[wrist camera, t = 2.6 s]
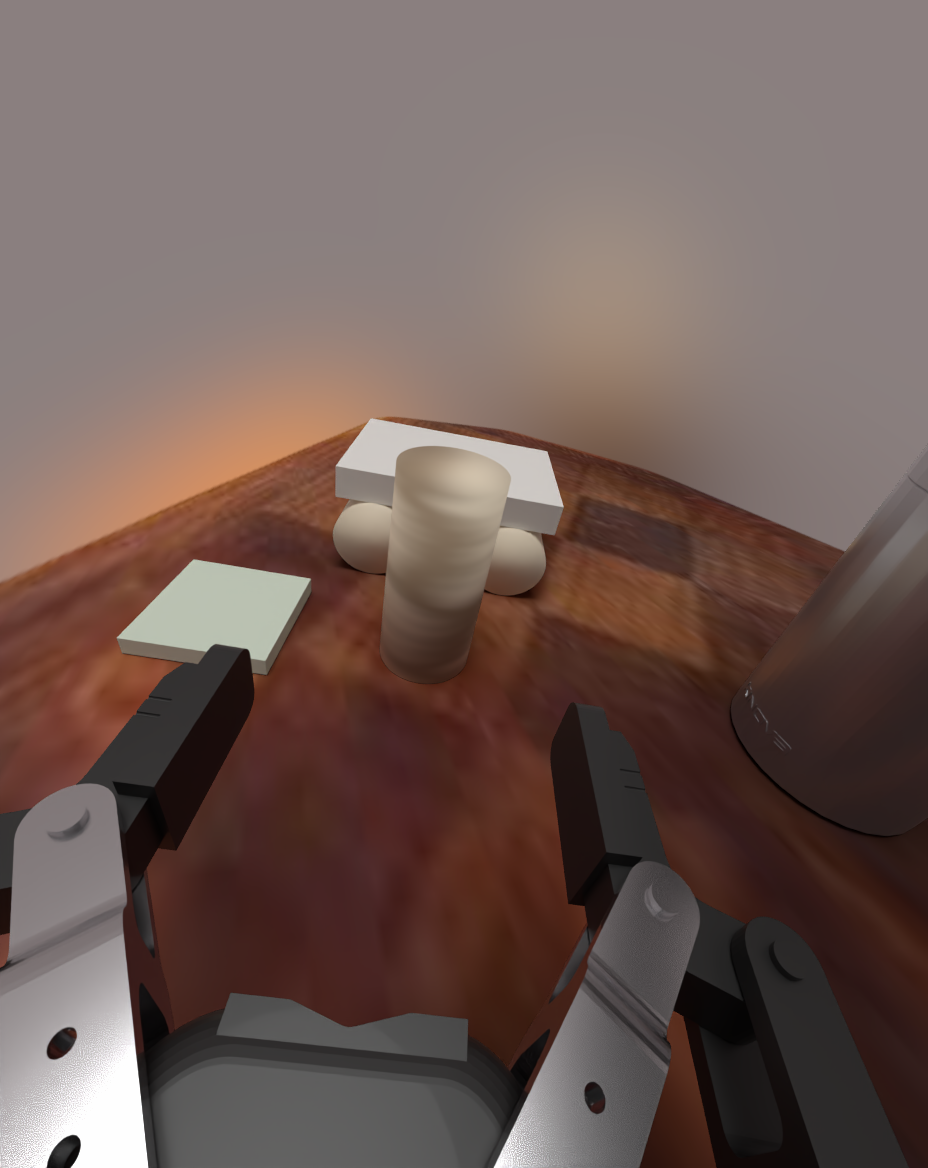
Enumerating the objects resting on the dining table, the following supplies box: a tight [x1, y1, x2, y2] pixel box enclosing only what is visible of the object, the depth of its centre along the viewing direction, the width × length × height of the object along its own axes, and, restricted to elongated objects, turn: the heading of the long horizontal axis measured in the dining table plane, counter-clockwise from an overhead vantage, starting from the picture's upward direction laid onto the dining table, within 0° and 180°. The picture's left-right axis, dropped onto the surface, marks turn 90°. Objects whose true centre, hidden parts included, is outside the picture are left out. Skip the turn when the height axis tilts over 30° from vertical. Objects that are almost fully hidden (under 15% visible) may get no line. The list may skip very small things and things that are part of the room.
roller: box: [380, 446, 511, 684], centre depth 23 cm, size 5×5×11 cm
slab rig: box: [333, 418, 564, 595], centre depth 34 cm, size 14×11×7 cm
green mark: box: [117, 560, 311, 675], centre depth 25 cm, size 7×7×1 cm
